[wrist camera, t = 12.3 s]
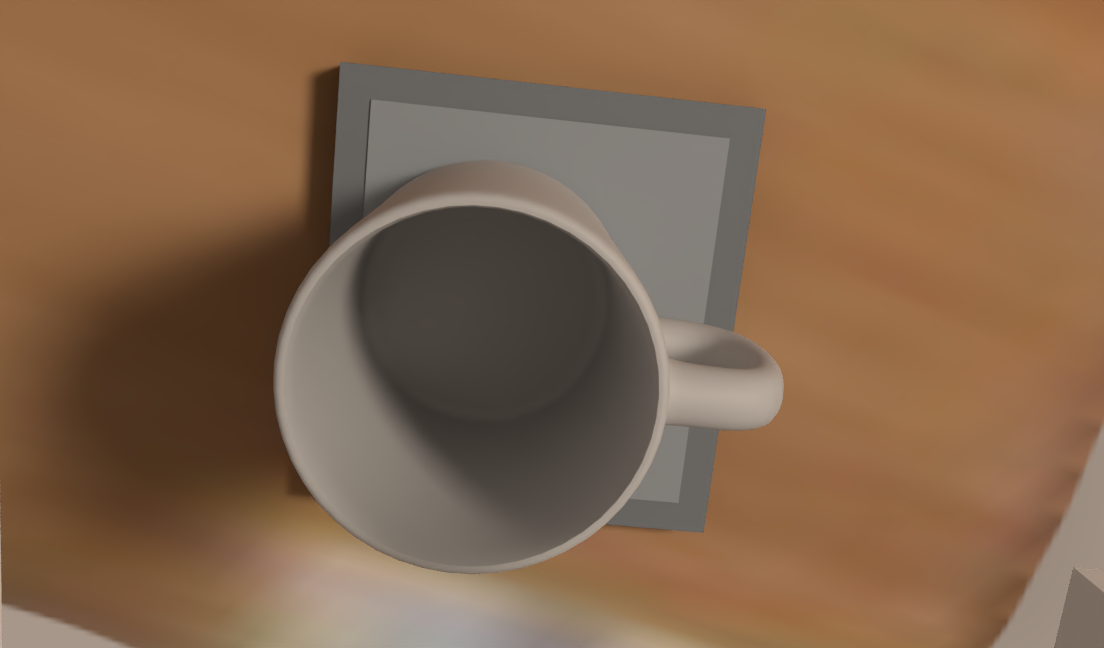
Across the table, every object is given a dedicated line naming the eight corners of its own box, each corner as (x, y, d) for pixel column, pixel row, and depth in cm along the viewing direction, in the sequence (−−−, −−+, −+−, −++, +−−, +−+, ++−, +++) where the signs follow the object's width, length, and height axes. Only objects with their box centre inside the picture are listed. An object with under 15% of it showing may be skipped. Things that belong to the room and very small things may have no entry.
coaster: (320, 485, 34) (313, 500, 33) (346, 63, 31) (339, 61, 30) (696, 518, 35) (703, 533, 34) (756, 108, 32) (766, 109, 31)
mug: (337, 407, 32) (250, 557, 22) (365, 140, 31) (284, 159, 20) (703, 452, 33) (794, 619, 22) (750, 195, 31) (873, 242, 21)
